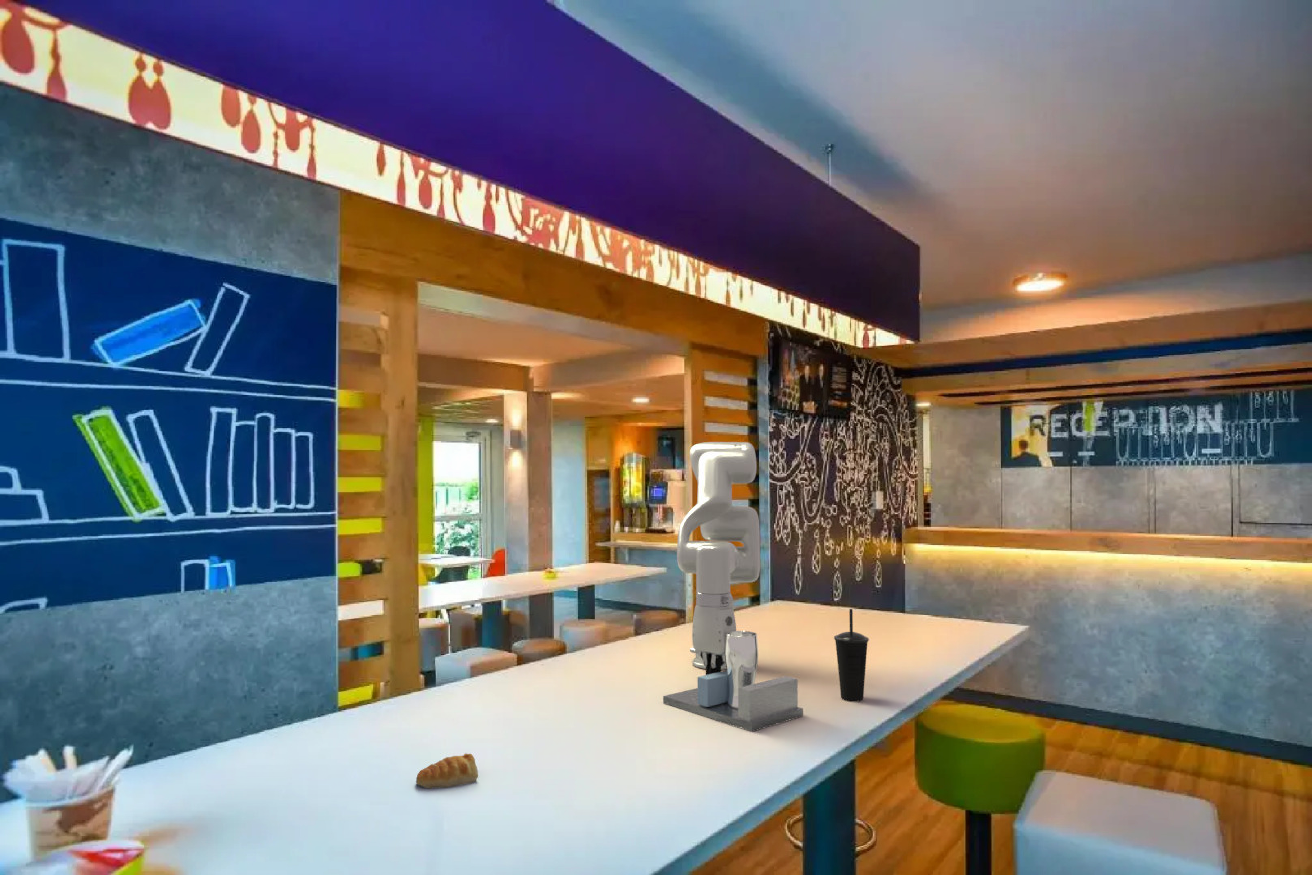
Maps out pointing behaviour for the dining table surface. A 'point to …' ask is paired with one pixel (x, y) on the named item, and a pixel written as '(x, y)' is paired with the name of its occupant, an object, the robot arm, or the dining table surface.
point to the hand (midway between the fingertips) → (713, 684)
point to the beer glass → (740, 662)
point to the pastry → (449, 772)
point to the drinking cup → (851, 662)
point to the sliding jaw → (713, 689)
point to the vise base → (724, 711)
